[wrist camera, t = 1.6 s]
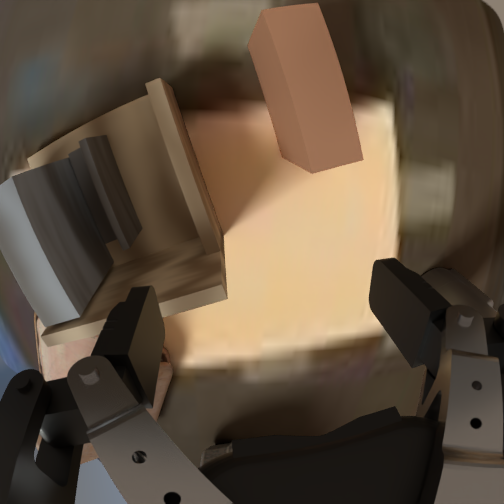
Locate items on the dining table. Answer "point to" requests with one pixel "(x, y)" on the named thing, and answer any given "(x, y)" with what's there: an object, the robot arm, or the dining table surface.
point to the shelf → (113, 220)
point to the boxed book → (304, 88)
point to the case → (65, 355)
